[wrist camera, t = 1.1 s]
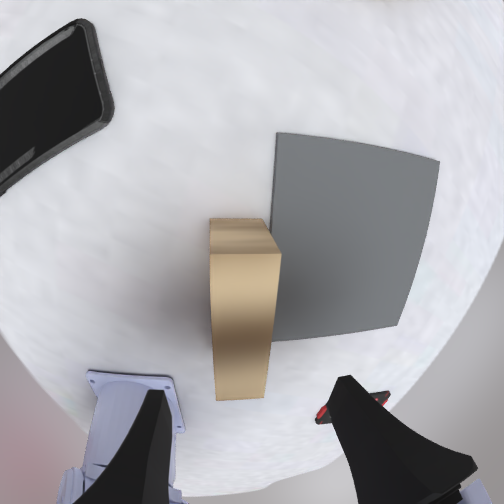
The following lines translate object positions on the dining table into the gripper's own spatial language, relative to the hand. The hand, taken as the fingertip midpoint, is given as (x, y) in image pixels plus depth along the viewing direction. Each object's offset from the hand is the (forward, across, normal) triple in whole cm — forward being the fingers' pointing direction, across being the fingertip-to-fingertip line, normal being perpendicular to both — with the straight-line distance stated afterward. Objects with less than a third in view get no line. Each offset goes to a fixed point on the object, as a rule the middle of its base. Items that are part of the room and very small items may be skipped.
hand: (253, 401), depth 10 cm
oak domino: (+9, 0, 0) cm, 9 cm away
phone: (+9, +15, -12) cm, 21 cm away
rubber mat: (+8, -8, -3) cm, 12 cm away
